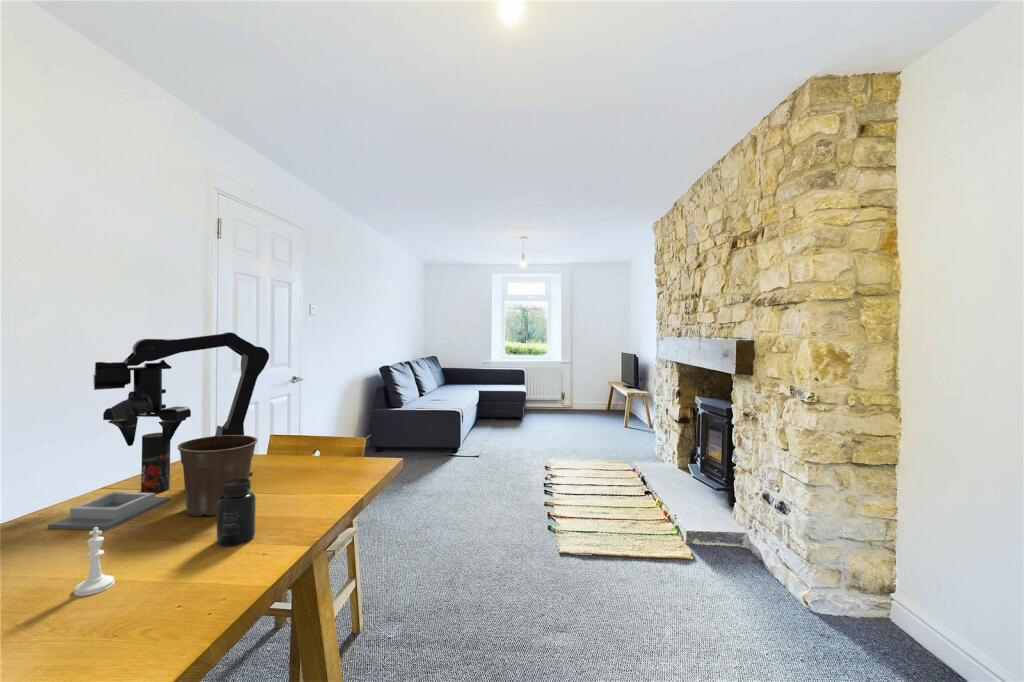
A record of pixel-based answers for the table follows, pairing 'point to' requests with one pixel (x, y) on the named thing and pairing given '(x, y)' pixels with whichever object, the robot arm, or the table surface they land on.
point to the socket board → (109, 510)
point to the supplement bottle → (236, 513)
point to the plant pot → (213, 468)
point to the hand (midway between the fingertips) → (148, 445)
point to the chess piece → (94, 569)
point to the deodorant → (155, 464)
